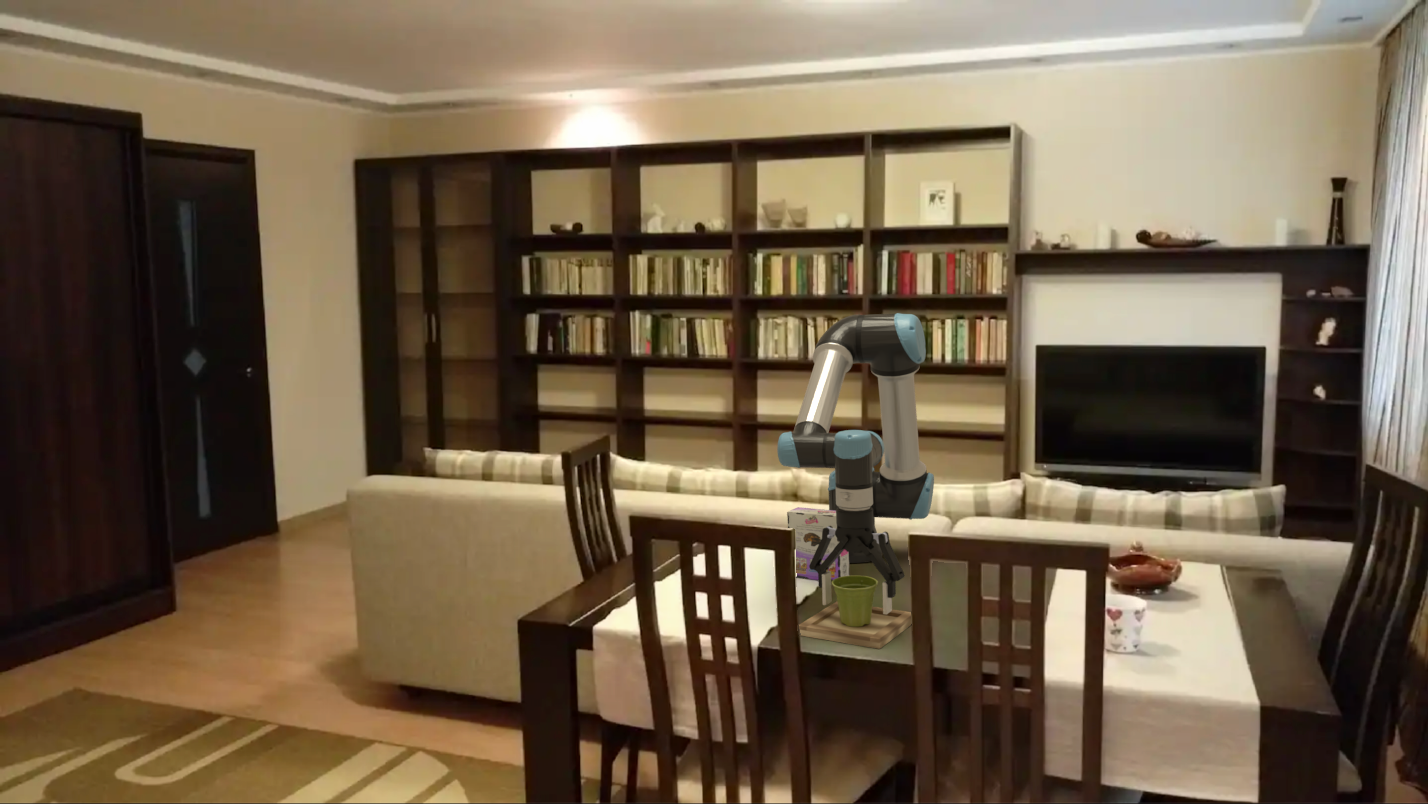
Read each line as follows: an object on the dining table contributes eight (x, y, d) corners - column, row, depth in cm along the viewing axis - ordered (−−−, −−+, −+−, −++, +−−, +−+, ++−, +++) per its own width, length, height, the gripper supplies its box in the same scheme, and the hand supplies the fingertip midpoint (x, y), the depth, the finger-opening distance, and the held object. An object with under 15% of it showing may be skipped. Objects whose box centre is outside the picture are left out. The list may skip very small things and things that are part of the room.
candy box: (850, 577, 255) (849, 510, 253) (839, 583, 250) (838, 515, 248) (799, 570, 262) (797, 505, 260) (788, 576, 257) (786, 510, 255)
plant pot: (877, 630, 213) (876, 588, 212) (830, 629, 215) (829, 587, 214) (879, 615, 222) (879, 575, 221) (834, 614, 224) (833, 574, 223)
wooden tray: (837, 609, 231) (836, 601, 230) (914, 621, 221) (914, 612, 221) (797, 634, 215) (797, 625, 215) (879, 648, 206) (879, 638, 206)
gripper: (791, 505, 219) (794, 604, 221) (904, 516, 205) (906, 621, 208) (808, 497, 225) (811, 594, 228) (919, 508, 212) (921, 610, 214)
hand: (856, 607), depth 218 cm, fingers open, 13 cm apart
